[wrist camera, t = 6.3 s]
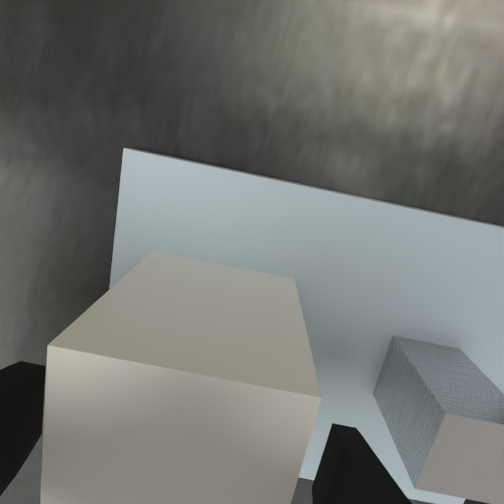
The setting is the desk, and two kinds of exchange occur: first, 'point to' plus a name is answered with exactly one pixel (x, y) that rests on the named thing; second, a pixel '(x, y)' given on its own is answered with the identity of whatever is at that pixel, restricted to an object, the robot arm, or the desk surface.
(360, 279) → the post board
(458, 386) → the steel post
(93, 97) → the desk surface
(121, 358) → the cream rectangular block
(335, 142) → the desk surface
